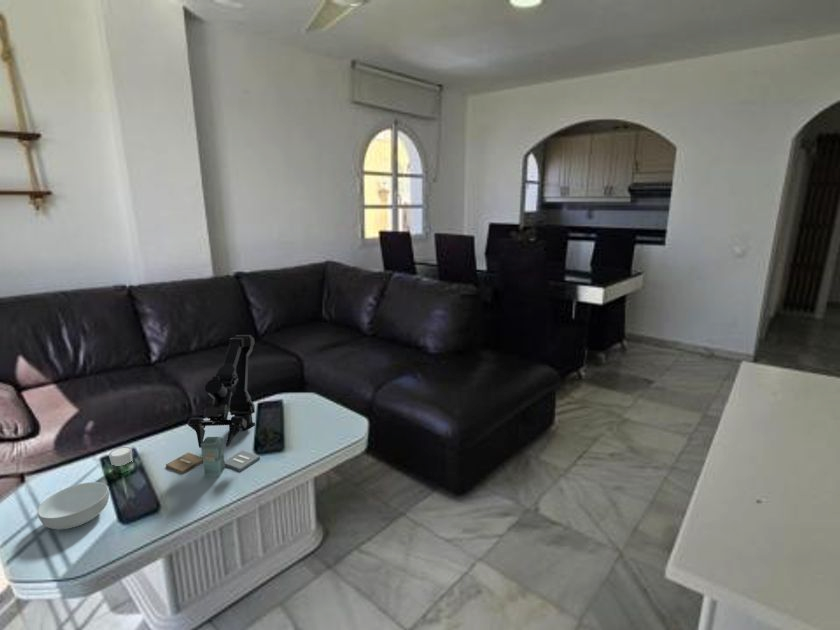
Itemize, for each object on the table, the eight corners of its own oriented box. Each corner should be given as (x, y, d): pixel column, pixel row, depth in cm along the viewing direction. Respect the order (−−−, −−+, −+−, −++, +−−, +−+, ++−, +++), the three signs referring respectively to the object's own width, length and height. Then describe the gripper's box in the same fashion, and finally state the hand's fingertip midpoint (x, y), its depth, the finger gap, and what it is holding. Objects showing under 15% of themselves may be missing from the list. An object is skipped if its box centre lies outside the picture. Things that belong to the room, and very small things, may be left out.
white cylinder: (139, 464, 165) (136, 446, 164) (125, 475, 159) (122, 457, 157) (121, 463, 166) (118, 445, 164) (107, 474, 159) (103, 456, 158)
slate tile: (242, 452, 173) (241, 449, 172) (259, 458, 169) (259, 455, 168) (222, 464, 165) (222, 461, 164) (240, 471, 161) (240, 468, 161)
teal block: (210, 468, 162) (206, 437, 159) (225, 468, 163) (221, 436, 160) (204, 477, 157) (200, 444, 154) (219, 476, 158) (215, 444, 155)
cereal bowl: (101, 494, 149) (97, 475, 147) (120, 516, 139) (116, 495, 137) (35, 521, 136) (30, 501, 134) (51, 548, 126) (45, 526, 124)
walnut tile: (188, 454, 171) (188, 452, 171) (205, 460, 167) (204, 457, 167) (166, 467, 163) (165, 464, 163) (183, 473, 160) (182, 470, 159)
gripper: (186, 396, 160) (176, 441, 152) (241, 395, 161) (233, 439, 153) (198, 407, 169) (189, 450, 161) (249, 406, 170) (243, 448, 162)
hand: (213, 447), depth 159 cm, fingers open, 9 cm apart
